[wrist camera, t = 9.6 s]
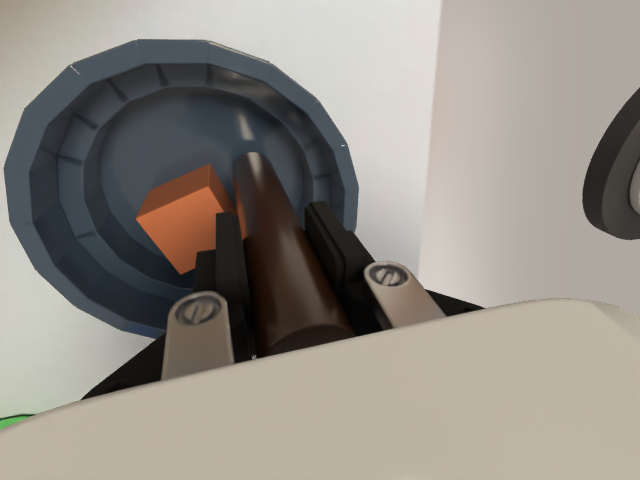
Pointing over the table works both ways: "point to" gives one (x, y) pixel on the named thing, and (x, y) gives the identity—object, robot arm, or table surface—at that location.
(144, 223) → the block
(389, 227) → the table surface
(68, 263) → the bowl
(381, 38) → the table surface
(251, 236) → the stick
